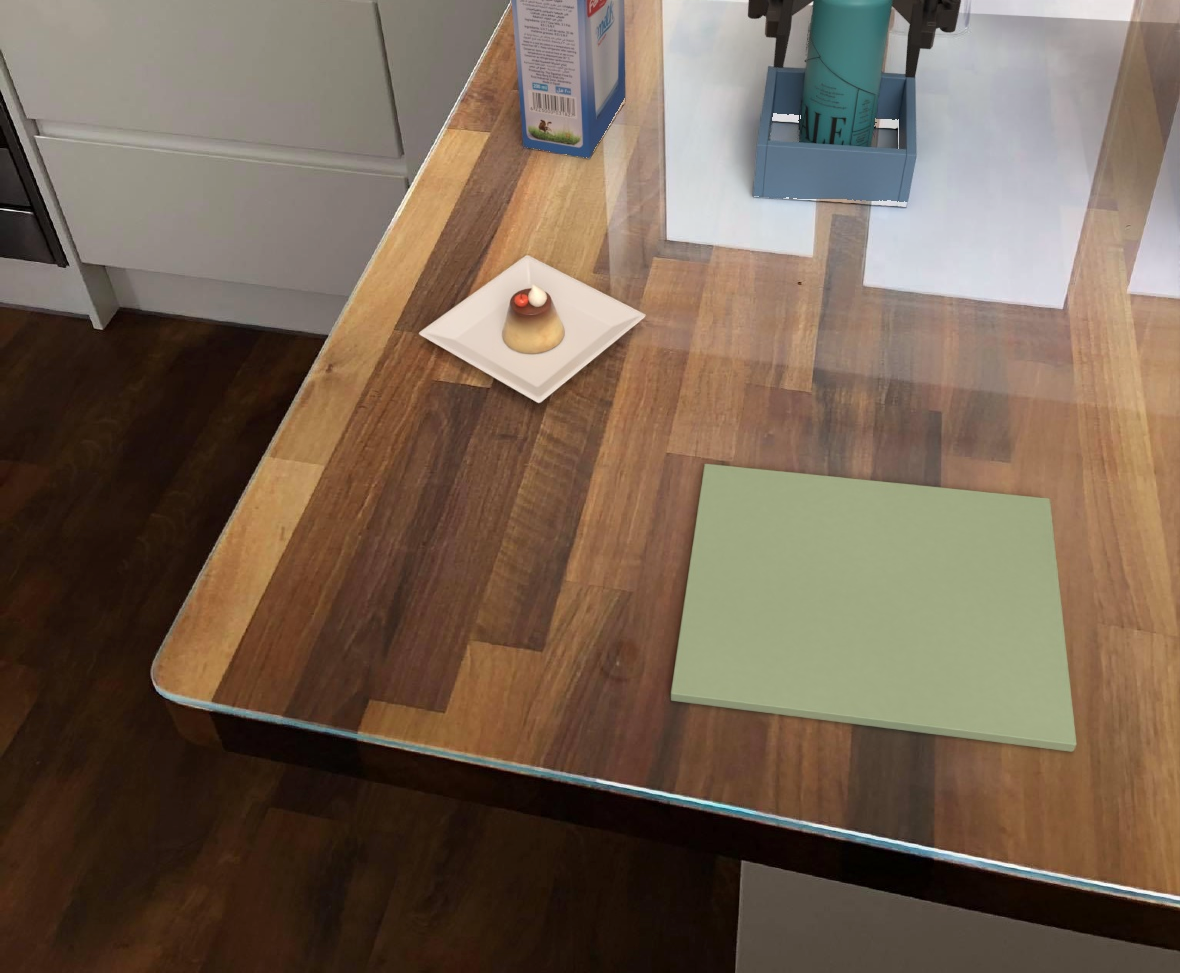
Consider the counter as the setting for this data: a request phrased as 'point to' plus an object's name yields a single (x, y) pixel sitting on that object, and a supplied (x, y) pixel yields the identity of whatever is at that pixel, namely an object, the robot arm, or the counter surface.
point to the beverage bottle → (843, 71)
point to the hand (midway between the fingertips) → (845, 56)
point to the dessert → (532, 327)
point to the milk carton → (569, 71)
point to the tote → (835, 148)
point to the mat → (876, 607)
